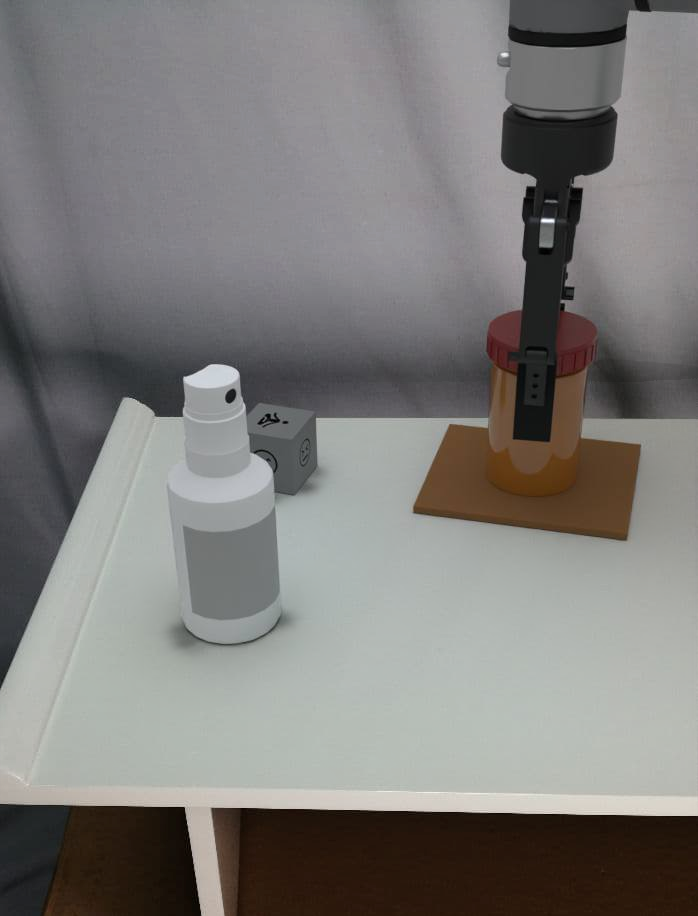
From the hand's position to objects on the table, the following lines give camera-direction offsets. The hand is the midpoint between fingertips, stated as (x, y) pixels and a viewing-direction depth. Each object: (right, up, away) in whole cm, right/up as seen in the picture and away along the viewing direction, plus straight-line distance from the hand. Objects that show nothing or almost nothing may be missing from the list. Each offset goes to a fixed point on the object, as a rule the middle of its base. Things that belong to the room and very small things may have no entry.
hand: (536, 408), depth 90 cm
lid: (0, +5, -3) cm, 6 cm away
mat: (0, -5, +4) cm, 6 cm away
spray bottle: (-23, -15, -10) cm, 29 cm away
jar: (0, -5, +3) cm, 6 cm away
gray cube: (-20, -5, +6) cm, 21 cm away
